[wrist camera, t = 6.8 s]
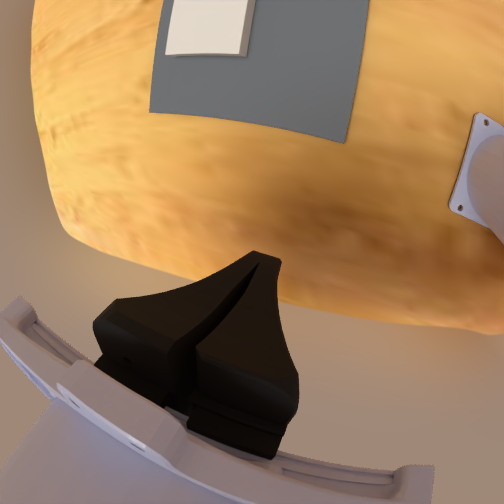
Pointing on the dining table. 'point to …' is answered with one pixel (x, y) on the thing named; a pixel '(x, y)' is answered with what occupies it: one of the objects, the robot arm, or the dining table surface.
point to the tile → (210, 28)
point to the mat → (272, 69)
